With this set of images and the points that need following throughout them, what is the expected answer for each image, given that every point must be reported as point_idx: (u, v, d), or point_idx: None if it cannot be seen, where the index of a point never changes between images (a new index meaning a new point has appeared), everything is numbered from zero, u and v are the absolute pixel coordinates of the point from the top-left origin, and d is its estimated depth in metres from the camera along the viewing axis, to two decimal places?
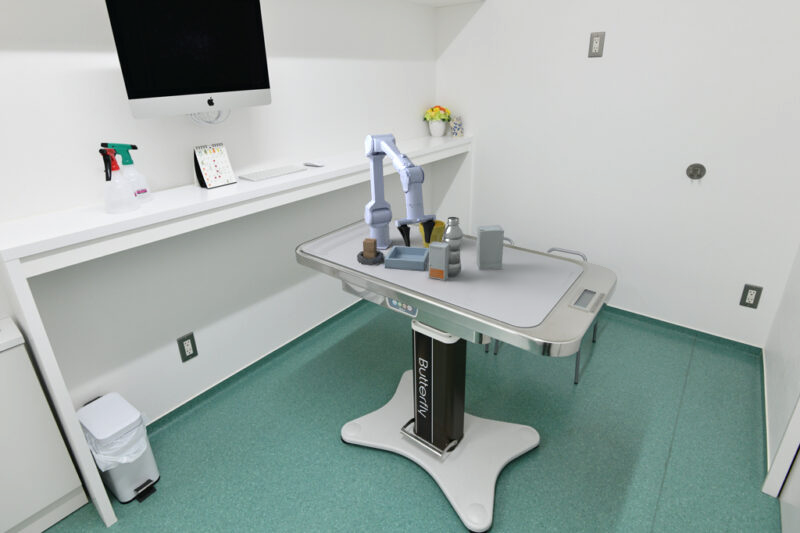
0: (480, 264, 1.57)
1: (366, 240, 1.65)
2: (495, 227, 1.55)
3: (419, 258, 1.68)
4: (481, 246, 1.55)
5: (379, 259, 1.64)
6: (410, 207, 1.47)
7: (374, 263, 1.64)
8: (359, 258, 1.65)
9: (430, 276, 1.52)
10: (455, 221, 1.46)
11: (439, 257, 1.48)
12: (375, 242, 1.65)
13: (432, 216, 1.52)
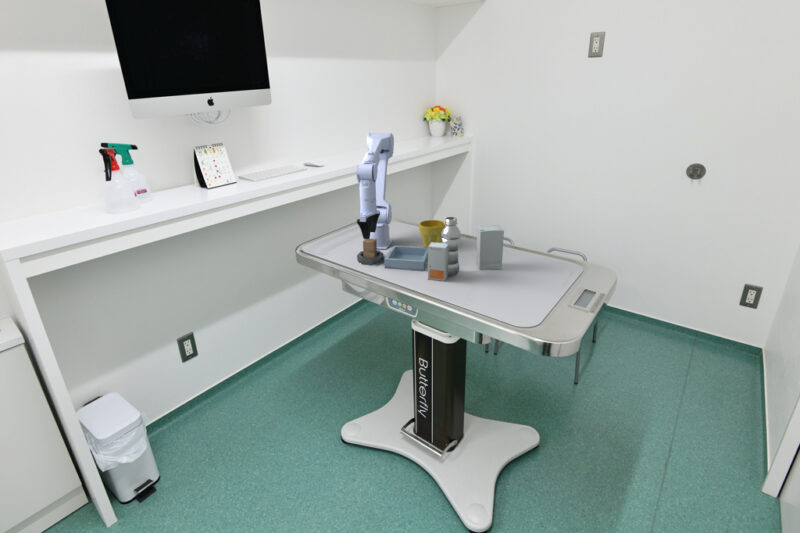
0: (480, 264, 1.57)
1: (366, 240, 1.65)
2: (495, 226, 1.55)
3: (419, 258, 1.68)
4: (481, 246, 1.55)
5: (379, 259, 1.64)
6: (370, 202, 1.57)
7: (374, 263, 1.64)
8: (359, 258, 1.65)
9: (430, 277, 1.51)
10: (454, 221, 1.46)
11: (439, 258, 1.47)
12: (375, 242, 1.65)
13: (376, 207, 1.66)
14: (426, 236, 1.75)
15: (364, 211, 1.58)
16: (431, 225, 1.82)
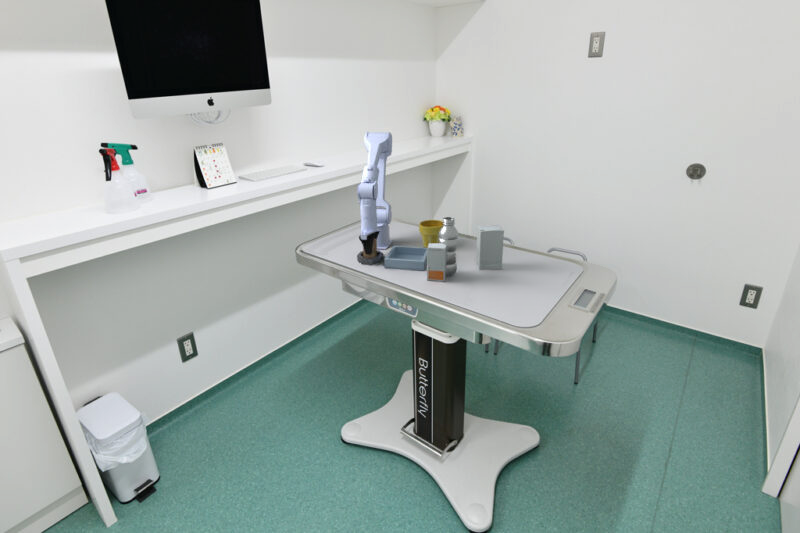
0: (480, 264, 1.57)
1: None
2: (495, 227, 1.55)
3: (419, 258, 1.68)
4: (481, 246, 1.55)
5: (379, 259, 1.64)
6: (371, 220, 1.59)
7: (374, 263, 1.64)
8: (359, 258, 1.65)
9: (429, 278, 1.50)
10: (452, 221, 1.46)
11: (438, 259, 1.47)
12: (375, 242, 1.65)
13: None
14: (426, 236, 1.75)
15: (365, 229, 1.61)
16: (431, 225, 1.82)
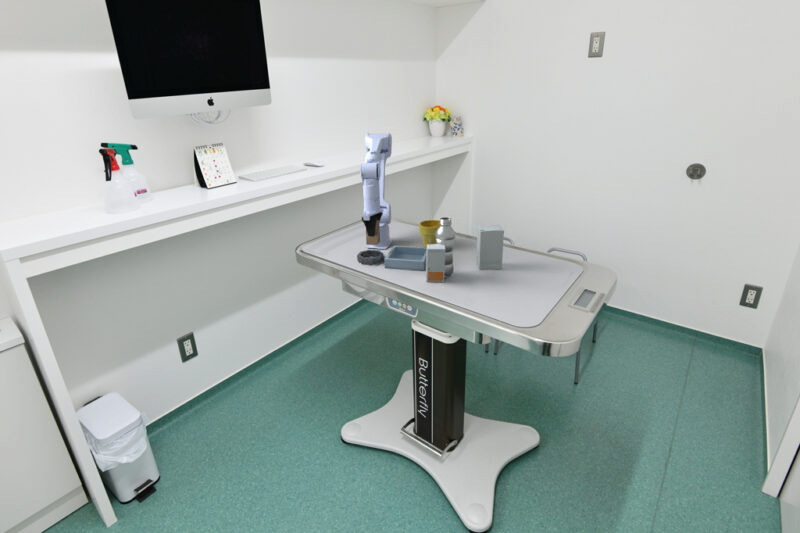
0: (480, 264, 1.57)
1: None
2: (495, 226, 1.55)
3: (419, 258, 1.68)
4: (481, 246, 1.55)
5: (379, 259, 1.64)
6: (373, 200, 1.56)
7: (374, 263, 1.64)
8: (359, 258, 1.65)
9: (428, 280, 1.49)
10: (449, 221, 1.46)
11: (438, 259, 1.46)
12: (378, 224, 1.62)
13: None
14: (426, 236, 1.75)
15: (368, 210, 1.58)
16: (431, 225, 1.82)
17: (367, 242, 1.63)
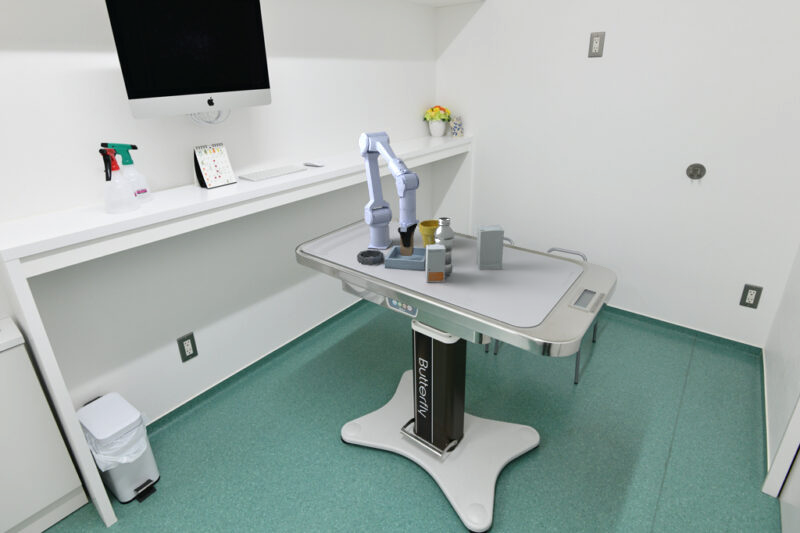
0: (480, 264, 1.57)
1: None
2: (495, 227, 1.55)
3: (419, 258, 1.68)
4: (481, 246, 1.55)
5: (379, 259, 1.64)
6: (410, 212, 1.56)
7: (374, 263, 1.64)
8: (359, 258, 1.65)
9: (429, 280, 1.49)
10: (448, 221, 1.46)
11: (439, 260, 1.46)
12: (412, 235, 1.62)
13: None
14: (426, 236, 1.75)
15: (404, 221, 1.57)
16: (431, 225, 1.82)
17: (401, 253, 1.63)
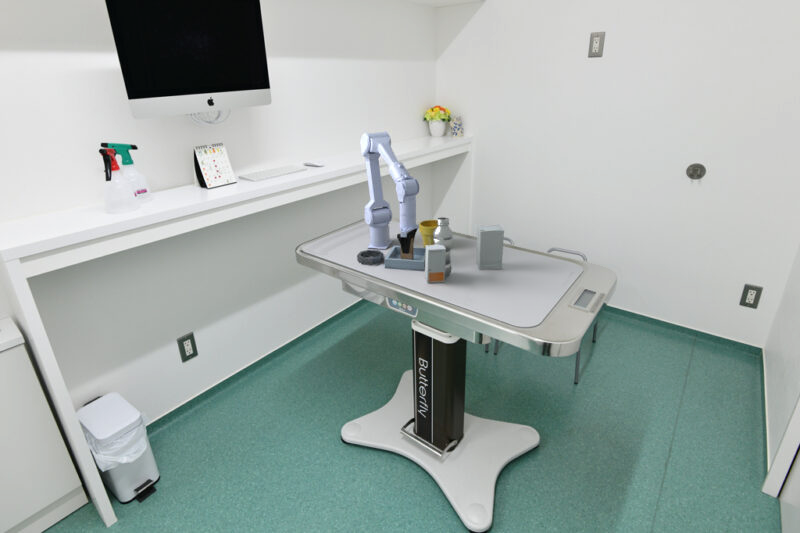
0: (480, 264, 1.57)
1: None
2: (495, 227, 1.55)
3: (419, 258, 1.68)
4: (481, 246, 1.55)
5: (379, 259, 1.64)
6: (410, 217, 1.57)
7: (374, 263, 1.64)
8: (359, 258, 1.65)
9: (429, 281, 1.48)
10: (447, 221, 1.46)
11: (439, 260, 1.46)
12: (412, 242, 1.63)
13: None
14: (426, 236, 1.75)
15: (404, 226, 1.58)
16: (431, 225, 1.82)
17: None
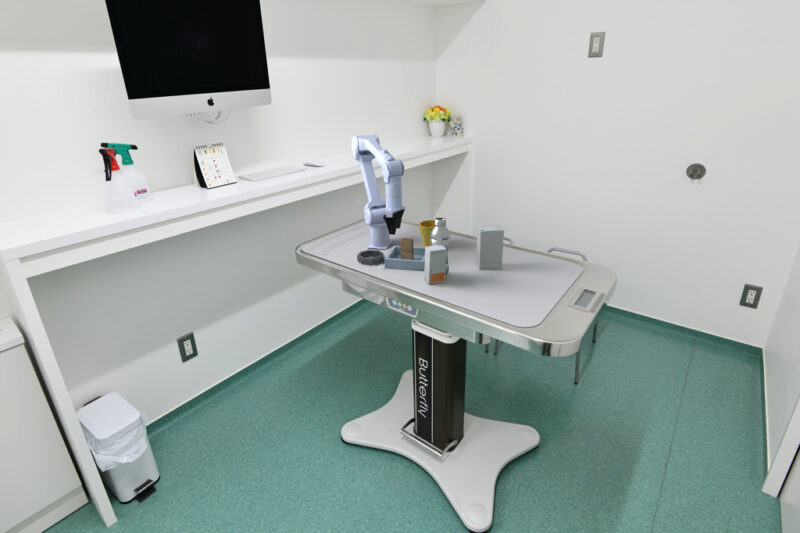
0: (480, 264, 1.57)
1: (403, 240, 1.62)
2: (495, 227, 1.55)
3: (419, 258, 1.68)
4: (481, 246, 1.55)
5: (379, 259, 1.64)
6: (396, 198, 1.59)
7: (374, 263, 1.64)
8: (359, 258, 1.65)
9: (431, 282, 1.48)
10: (445, 221, 1.46)
11: (440, 260, 1.45)
12: (412, 242, 1.63)
13: None
14: (426, 236, 1.75)
15: (390, 207, 1.60)
16: (431, 225, 1.82)
17: None
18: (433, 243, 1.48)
